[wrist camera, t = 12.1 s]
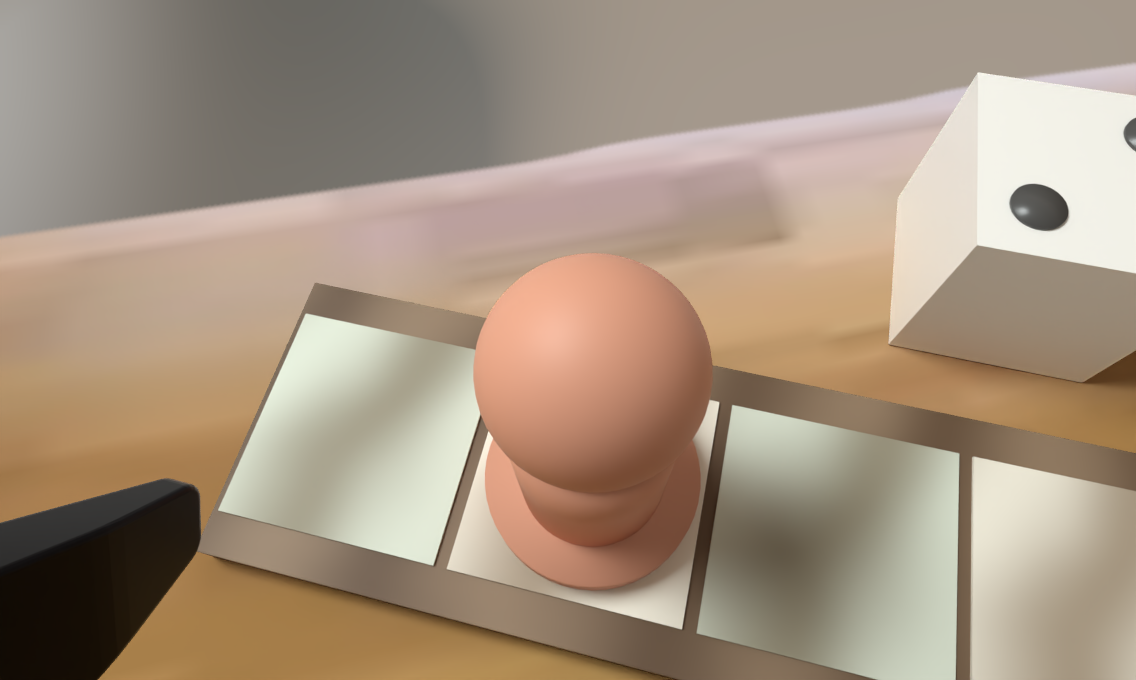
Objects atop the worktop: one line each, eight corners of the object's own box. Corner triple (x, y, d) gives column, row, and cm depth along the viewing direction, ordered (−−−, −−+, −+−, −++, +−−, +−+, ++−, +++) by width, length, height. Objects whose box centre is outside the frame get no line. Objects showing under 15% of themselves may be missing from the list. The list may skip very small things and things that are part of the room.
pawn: (736, 464, 21) (856, 288, 11) (612, 638, 19) (631, 600, 10) (575, 350, 23) (563, 114, 13) (446, 498, 21) (324, 348, 11)
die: (1072, 228, 25) (1207, 103, 20) (1081, 382, 23) (1238, 288, 17) (897, 198, 26) (979, 69, 21) (888, 344, 24) (978, 242, 18)
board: (1193, 479, 21) (1222, 469, 20) (1235, 828, 18) (1273, 837, 17) (325, 296, 25) (314, 281, 24) (211, 556, 21) (192, 550, 20)
